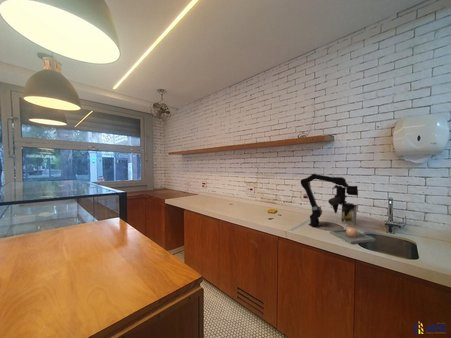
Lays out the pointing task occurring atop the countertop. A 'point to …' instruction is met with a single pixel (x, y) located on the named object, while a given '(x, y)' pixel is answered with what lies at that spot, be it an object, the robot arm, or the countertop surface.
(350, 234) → the tan rounded cone
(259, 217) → the countertop surface
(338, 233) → the tray
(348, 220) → the coffee box
